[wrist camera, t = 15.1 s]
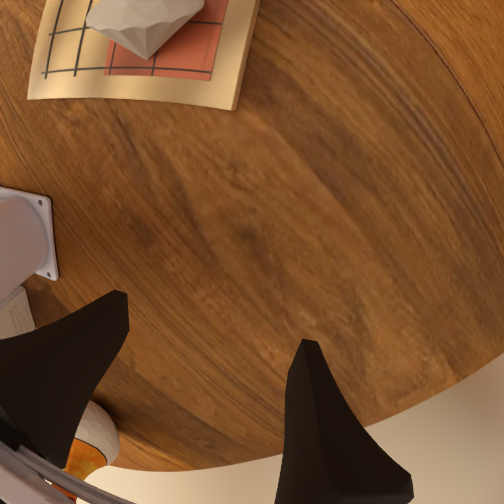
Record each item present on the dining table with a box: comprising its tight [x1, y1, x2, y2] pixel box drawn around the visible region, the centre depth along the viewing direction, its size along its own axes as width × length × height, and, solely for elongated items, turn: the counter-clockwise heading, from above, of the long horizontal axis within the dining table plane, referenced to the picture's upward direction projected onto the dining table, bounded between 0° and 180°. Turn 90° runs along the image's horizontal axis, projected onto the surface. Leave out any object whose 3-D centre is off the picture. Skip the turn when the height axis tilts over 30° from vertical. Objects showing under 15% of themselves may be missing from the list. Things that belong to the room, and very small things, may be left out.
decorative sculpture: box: [0, 400, 120, 504], centre depth 21 cm, size 20×8×30 cm, turn 178°
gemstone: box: [85, 0, 204, 60], centre depth 12 cm, size 6×6×5 cm
